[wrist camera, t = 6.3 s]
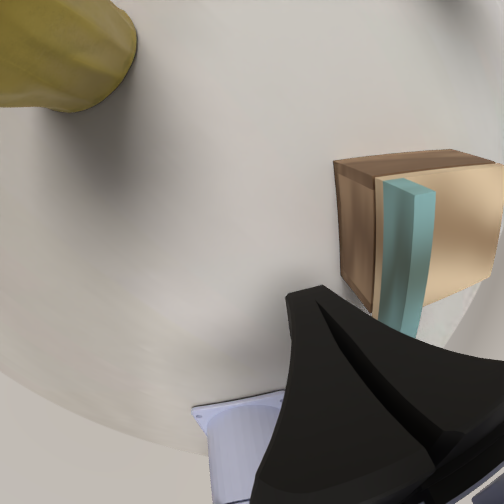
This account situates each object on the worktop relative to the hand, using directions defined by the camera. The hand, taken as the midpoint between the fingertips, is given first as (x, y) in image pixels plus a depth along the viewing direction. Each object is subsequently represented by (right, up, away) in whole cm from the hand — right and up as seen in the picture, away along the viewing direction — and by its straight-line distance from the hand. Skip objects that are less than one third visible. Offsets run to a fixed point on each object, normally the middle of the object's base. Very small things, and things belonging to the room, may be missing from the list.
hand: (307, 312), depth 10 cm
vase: (-10, +12, 0) cm, 16 cm away
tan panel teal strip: (+8, +3, +2) cm, 9 cm away
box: (+7, +5, +6) cm, 11 cm away
